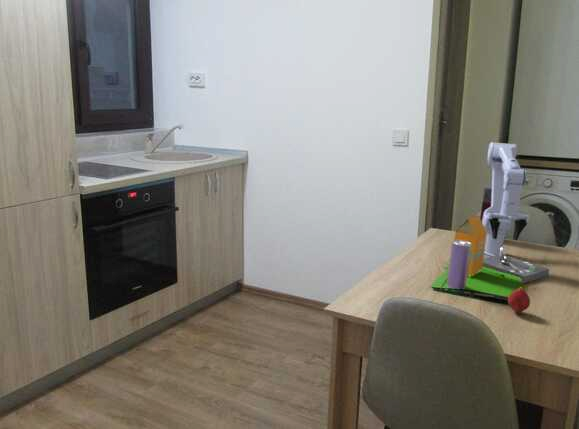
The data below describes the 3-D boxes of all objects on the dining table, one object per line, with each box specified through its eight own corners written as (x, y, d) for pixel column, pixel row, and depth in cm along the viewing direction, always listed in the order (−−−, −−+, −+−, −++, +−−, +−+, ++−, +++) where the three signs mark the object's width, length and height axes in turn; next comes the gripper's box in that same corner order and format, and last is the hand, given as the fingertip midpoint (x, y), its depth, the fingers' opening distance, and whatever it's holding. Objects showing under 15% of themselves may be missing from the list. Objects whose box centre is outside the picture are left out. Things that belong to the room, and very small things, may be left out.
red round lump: (502, 308, 155) (506, 282, 153) (521, 308, 156) (525, 283, 154) (512, 316, 150) (516, 290, 148) (531, 317, 150) (536, 290, 148)
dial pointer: (495, 257, 195) (496, 246, 194) (505, 258, 195) (507, 247, 194) (510, 270, 181) (512, 258, 180) (522, 270, 182) (524, 259, 181)
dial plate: (474, 266, 192) (475, 259, 192) (500, 260, 202) (501, 253, 201) (522, 283, 177) (524, 276, 177) (548, 275, 187) (549, 268, 186)
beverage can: (455, 291, 167) (462, 246, 163) (442, 284, 172) (448, 240, 168) (469, 289, 169) (476, 244, 166) (456, 282, 175) (462, 239, 171)
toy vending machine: (504, 244, 223) (514, 179, 217) (476, 239, 228) (486, 175, 222) (506, 239, 231) (516, 176, 224) (479, 235, 236) (488, 173, 229)
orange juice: (481, 272, 187) (489, 217, 182) (470, 277, 180) (479, 220, 176) (460, 266, 192) (468, 212, 187) (449, 271, 185) (457, 216, 181)
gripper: (494, 203, 185) (489, 241, 188) (535, 206, 185) (529, 243, 188) (487, 199, 192) (482, 235, 195) (526, 201, 192) (520, 237, 195)
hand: (504, 238), depth 192 cm, fingers open, 7 cm apart
